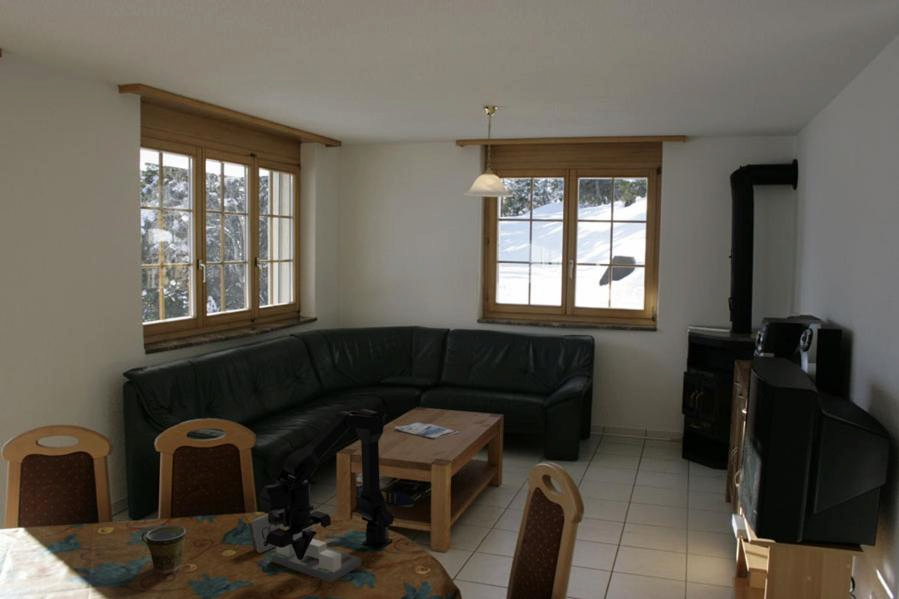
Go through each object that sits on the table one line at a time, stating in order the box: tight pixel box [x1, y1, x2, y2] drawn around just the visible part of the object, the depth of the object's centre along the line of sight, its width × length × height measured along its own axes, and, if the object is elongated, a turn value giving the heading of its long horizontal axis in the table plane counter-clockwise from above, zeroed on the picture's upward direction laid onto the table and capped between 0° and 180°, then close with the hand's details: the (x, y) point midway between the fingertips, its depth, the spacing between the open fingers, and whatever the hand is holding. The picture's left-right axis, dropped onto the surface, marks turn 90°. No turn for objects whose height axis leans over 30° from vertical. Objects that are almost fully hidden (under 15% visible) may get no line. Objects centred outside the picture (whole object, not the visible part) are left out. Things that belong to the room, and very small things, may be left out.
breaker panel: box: [270, 544, 362, 583], centre depth 208 cm, size 12×22×6 cm, turn 56°
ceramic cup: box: [141, 525, 187, 575], centre depth 205 cm, size 13×10×10 cm
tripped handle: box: [305, 538, 327, 559], centre depth 208 cm, size 3×5×4 cm, turn 56°
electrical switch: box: [248, 514, 283, 554], centre depth 219 cm, size 9×5×9 cm, turn 141°
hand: (300, 559), depth 203 cm, fingers closed
